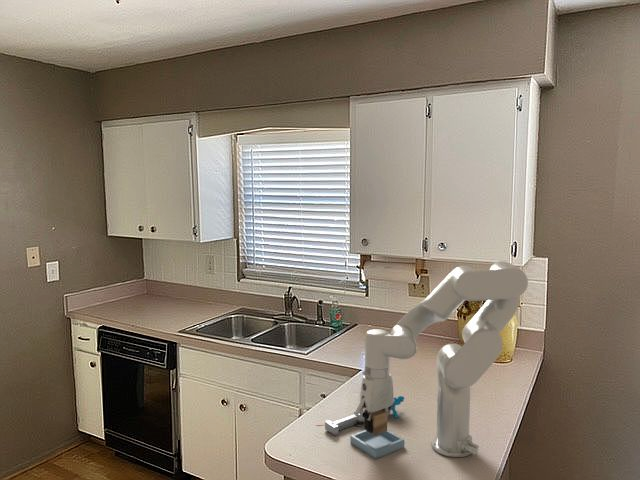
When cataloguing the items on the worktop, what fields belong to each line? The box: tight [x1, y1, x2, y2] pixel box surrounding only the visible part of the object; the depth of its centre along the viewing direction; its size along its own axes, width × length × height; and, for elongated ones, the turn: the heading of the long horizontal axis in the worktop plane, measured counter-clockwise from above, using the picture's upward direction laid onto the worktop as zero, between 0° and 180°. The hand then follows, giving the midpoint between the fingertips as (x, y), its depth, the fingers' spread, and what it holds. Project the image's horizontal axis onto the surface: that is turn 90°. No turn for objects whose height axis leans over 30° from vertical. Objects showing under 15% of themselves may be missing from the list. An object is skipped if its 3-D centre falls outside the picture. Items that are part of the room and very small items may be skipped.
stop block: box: [364, 409, 389, 435], centre depth 160 cm, size 5×5×6 cm
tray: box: [349, 429, 405, 460], centre depth 160 cm, size 12×12×2 cm
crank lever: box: [324, 411, 364, 436], centre depth 172 cm, size 15×5×3 cm, turn 126°
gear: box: [389, 395, 405, 419], centre depth 179 cm, size 11×6×10 cm
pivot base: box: [315, 423, 364, 428], centre depth 174 cm, size 6×18×1 cm, turn 106°
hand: (375, 427), depth 160 cm, fingers closed on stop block, 5 cm apart
